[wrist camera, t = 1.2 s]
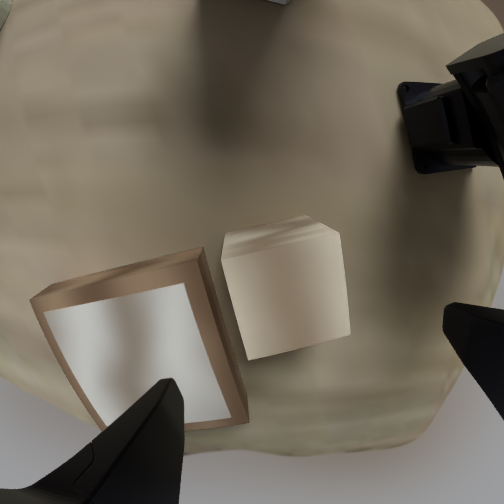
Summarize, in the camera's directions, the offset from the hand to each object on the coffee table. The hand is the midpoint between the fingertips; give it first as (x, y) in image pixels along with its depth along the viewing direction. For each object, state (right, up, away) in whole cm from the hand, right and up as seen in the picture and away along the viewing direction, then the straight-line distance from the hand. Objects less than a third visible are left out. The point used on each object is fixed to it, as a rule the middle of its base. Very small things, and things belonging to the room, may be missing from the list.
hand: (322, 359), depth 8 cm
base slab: (-10, -3, +11) cm, 15 cm away
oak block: (-1, +3, +10) cm, 11 cm away
